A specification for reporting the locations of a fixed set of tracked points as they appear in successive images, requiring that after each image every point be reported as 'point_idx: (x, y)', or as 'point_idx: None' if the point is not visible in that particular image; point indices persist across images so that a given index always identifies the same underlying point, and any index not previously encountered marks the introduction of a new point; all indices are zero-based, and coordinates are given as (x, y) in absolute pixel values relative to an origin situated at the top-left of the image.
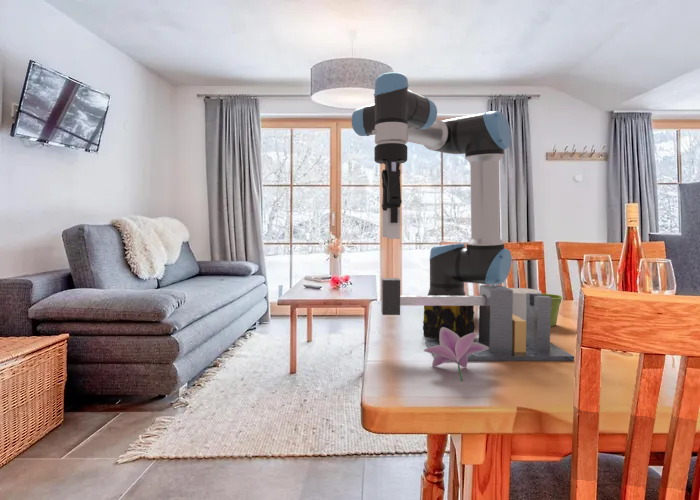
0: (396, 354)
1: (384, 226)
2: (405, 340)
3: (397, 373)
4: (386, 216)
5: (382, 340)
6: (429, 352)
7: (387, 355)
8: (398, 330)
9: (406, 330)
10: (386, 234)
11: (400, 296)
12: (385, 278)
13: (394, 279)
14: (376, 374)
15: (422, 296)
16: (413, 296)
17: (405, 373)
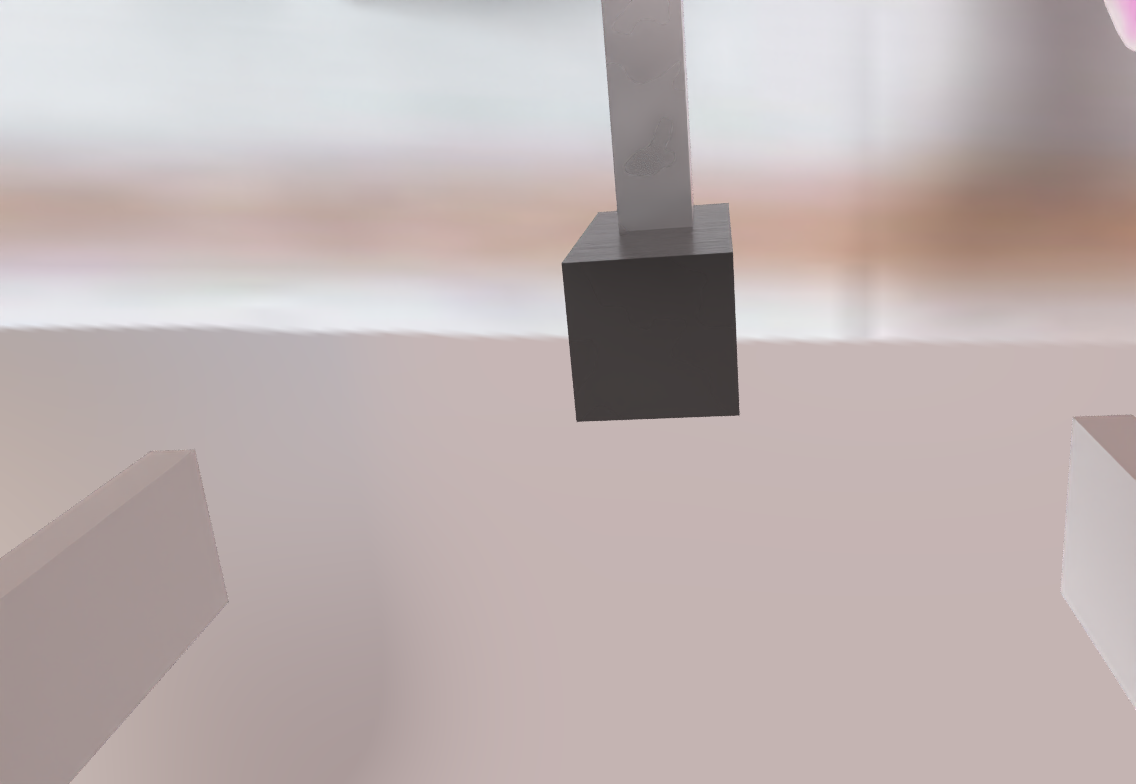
0: (735, 190)
1: (133, 671)
2: (428, 122)
3: (1076, 195)
4: (12, 761)
5: (447, 268)
6: (1111, 10)
7: (757, 243)
8: (187, 160)
9: (175, 104)
10: (195, 570)
11: (671, 219)
12: (607, 386)
13: (680, 305)
14: (1085, 304)
15: (658, 18)
16: (663, 103)
17: (1079, 152)
